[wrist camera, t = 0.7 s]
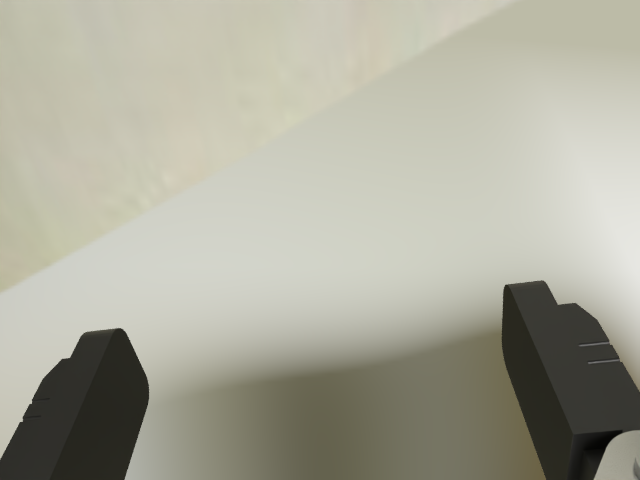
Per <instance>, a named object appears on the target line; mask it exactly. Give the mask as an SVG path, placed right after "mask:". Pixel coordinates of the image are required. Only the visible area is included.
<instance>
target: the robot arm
mask: <svg viewBox="0 0 640 480" xmlns="http://www.w3.org/2000/svg"><path fill="white" fill-rule="evenodd" d="M502 349H503V356H504V361H505V365H506V368H507V371H508V374H509V377H510V379H511V383H512V385H513V388H514V391H515V394H516V396H517V399H518V402H519V405H520V407H521V410H522V413H523V416H524V419H525V422H526V424H527V427H528V430H529V432H530V435H531V438H532V441H533V444H534V447H535V449H536V452H537V455H538V458H539V460H540V463H541V466H542V469H543V472H544V475H545V477H546V480H640V392H639V390H638V389H637V387H636V385H635V384H634V382H633V380H632V378H631V376H630V375H629V373H628V372H627V370H626V368H625V366H624V365H623V363H622V362H620V360H619V356H618V355H617V353H616V351H615V349H614V348H613V346H612V345H610V343H609V339H608V337H607V336H606V334H605V332H604V331H603V329H602V327H601V326H600V324H599V322H598V321H597V319H595V318H594V317H593V316H592V315H590V314H589V313H588V312H586V311H585V310H584V309H583V308H581V307H580V306H579V305H577V304H576V303H572V304H562V305H557V302H556V300H555V299H554V297H553V295H552V293H551V291H550V289H549V287H548V285H547V284H546V282H544V281H534V282H525V283H517V284H508V285H505V287H504V292H503V319H502ZM148 400H149V385H148V380H147V377H146V374H145V372H144V370H143V368H142V366H141V364H140V361H139V359H138V357H137V355H136V353H135V351H134V349H133V346H132V344H131V342H130V340H129V338H128V336H127V334H126V332H125V331H124V330H123V329H121V328H117V329H108V330H100V331H91V332H86V333H84V334H83V335H82V336H81V337H80V339H79V342H78V343H77V345H76V347H75V349H74V351H73V353H72V355H71V357H70V358H68V359H62V360H61V361H60V362H59V363H58V364H57V365H56V366H55V367H54V368H53V369H52V370H51V371H50V372H49V373H48V374H47V375H46V376H45V377H44V378H43V380H42V382H41V384H40V386H39V387H38V390H37V391H36V393H35V395H34V397H33V399H32V404H30V405H29V406H28V408H27V410H26V412H25V414H24V416H23V422H20V423H19V425H18V427H17V429H16V431H15V433H14V435H13V437H12V439H11V440H10V443H9V444H8V446H7V448H6V450H5V452H4V454H3V456H2V458H1V460H0V480H124V479H125V476H126V472H127V469H128V466H129V463H130V460H131V457H132V453H133V450H134V447H135V444H136V440H137V438H138V434H139V431H140V428H141V425H142V422H143V418H144V415H145V412H146V409H147V405H148Z"/></svg>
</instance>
